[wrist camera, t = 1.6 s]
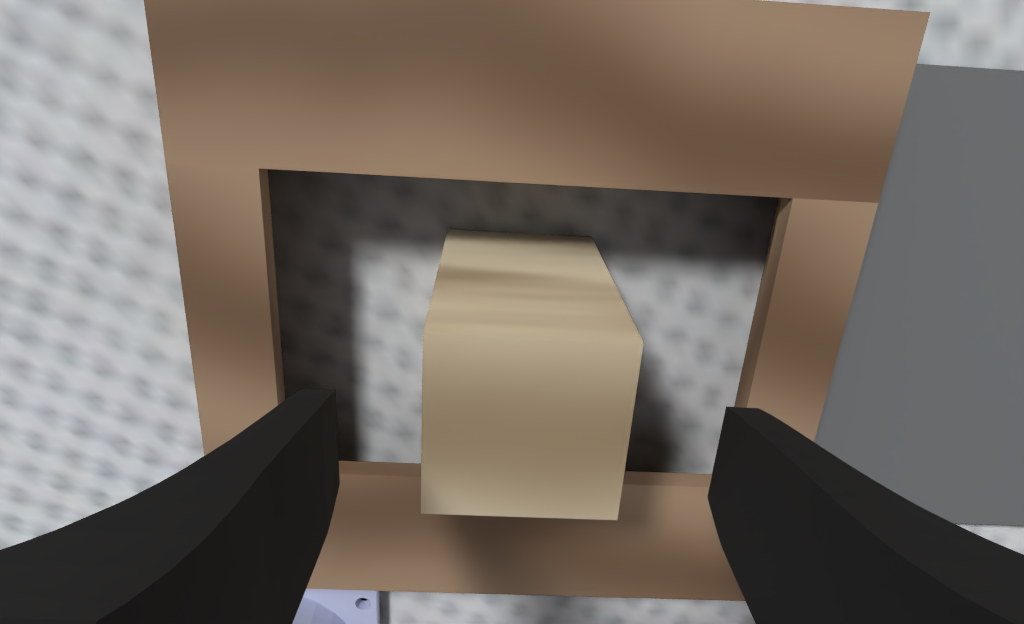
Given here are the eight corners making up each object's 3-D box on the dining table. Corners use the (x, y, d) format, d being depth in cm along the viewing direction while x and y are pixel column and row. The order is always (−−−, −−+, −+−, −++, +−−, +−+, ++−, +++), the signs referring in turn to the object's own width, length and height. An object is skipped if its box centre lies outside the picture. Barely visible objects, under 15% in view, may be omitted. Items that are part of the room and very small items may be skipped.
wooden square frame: (736, 532, 23) (770, 601, 20) (256, 517, 22) (221, 586, 19) (857, 16, 17) (930, 12, 14) (200, -29, 16) (138, -43, 13)
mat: (1116, 521, 23) (1126, 529, 23) (771, 509, 22) (776, 517, 22) (1329, 91, 18) (1347, 92, 17) (885, 61, 17) (894, 62, 17)
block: (577, 365, 20) (617, 520, 14) (444, 359, 20) (420, 513, 14) (591, 236, 19) (643, 342, 12) (447, 229, 18) (423, 332, 12)
